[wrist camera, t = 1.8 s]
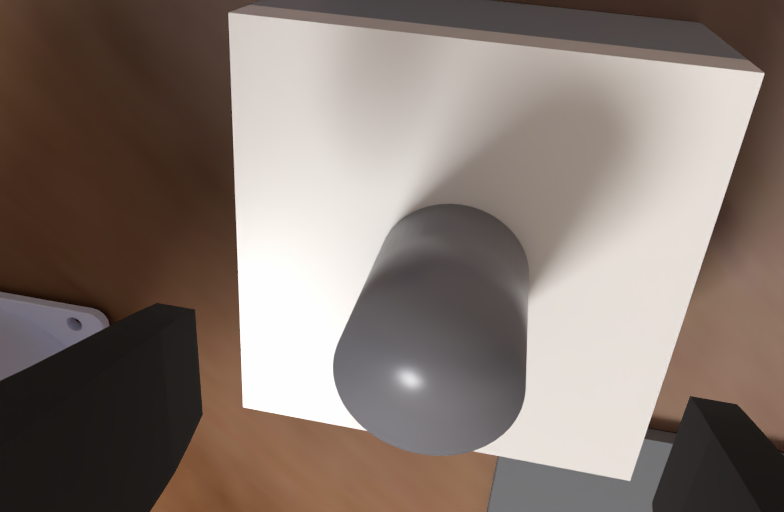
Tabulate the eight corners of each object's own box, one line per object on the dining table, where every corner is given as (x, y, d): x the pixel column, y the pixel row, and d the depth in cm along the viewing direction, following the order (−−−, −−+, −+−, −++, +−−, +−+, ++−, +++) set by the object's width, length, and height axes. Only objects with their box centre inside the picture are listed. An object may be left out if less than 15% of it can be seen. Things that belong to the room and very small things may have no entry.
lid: (269, 362, 18) (175, 523, 13) (264, -1, 14) (123, 51, 9) (621, 426, 17) (652, 627, 12) (736, 50, 13) (851, 141, 8)
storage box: (305, 299, 21) (258, 381, 17) (310, -19, 16) (249, 4, 13) (609, 350, 20) (625, 449, 16) (701, 22, 15) (748, 59, 12)
